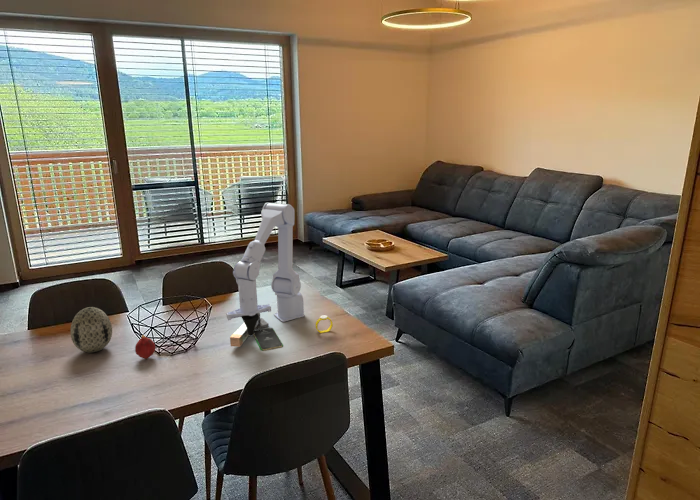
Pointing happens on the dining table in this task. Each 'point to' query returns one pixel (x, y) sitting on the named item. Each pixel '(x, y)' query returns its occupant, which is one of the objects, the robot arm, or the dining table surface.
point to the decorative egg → (91, 330)
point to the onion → (145, 347)
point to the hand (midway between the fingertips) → (250, 334)
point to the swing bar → (241, 334)
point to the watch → (324, 319)
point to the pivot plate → (262, 324)
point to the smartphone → (267, 339)
